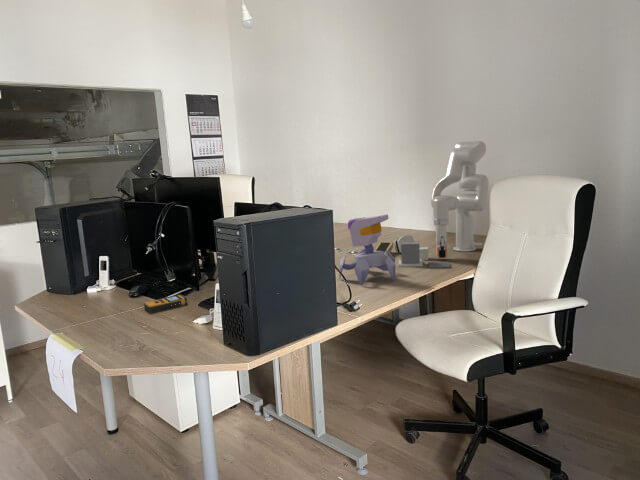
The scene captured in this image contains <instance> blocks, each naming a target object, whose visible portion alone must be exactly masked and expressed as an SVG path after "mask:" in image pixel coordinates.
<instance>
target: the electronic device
mask: <svg viewBox="0 0 640 480" xmlns="http://www.w3.org/2000/svg"><path fill="white" fill-rule="evenodd" d="M186 301H187V302H186ZM182 302H184V303H182ZM179 303H180V304H179ZM175 304H176V305H175ZM143 305H144V309H145V311H147V312H149V313H156V312H160V311H164V310H168V309H172V308H177V307H181V306H184V305H188V298H187V297H186V296H184V295H182V294H177V295H172V296H168V297H164V298H159V299H156V300H155V299H154V300H150V301H145V302H144V304H143ZM171 305H172V306H171Z"/></svg>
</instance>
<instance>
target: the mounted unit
mask: <svg viewBox="0 0 640 480" xmlns="http://www.w3.org/2000/svg"><path fill="white" fill-rule="evenodd" d="M419 247H420V242H419V241H414V242H401V253H400V254H401V256H400V257H401V258H400V259H398V261H397V262H398V267H399V268H401V267H402V268H403V267H404V268H405V267H406V268H408V267H413V268H415V267H424V265H423V264H424V263H423V260H420V256H419Z"/></svg>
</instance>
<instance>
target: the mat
mask: <svg viewBox="0 0 640 480" xmlns="http://www.w3.org/2000/svg"><path fill="white" fill-rule="evenodd" d="M427 263H428V268H429V269H451V265H450V262H449V261H428V262H427Z"/></svg>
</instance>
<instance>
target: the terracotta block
mask: <svg viewBox="0 0 640 480" xmlns="http://www.w3.org/2000/svg"><path fill="white" fill-rule="evenodd" d="M435 245H436V246H435V247H436V258H437V259H441V258H440V257H439V250H440V249H439V245H437V244H435ZM445 254H446V257H444V258H443V259H447V258H448V246H447V244H445Z"/></svg>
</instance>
